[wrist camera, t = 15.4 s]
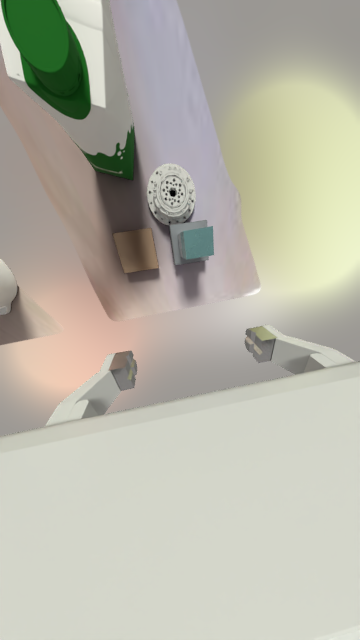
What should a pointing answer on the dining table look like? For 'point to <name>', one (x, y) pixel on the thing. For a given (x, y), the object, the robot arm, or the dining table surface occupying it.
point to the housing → (196, 243)
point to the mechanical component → (172, 180)
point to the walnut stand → (136, 250)
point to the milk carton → (73, 74)
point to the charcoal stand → (175, 245)
